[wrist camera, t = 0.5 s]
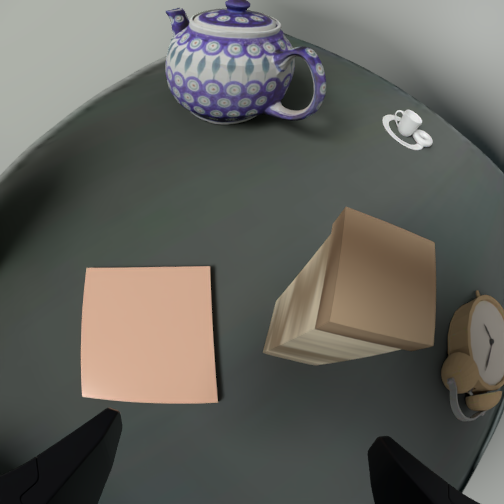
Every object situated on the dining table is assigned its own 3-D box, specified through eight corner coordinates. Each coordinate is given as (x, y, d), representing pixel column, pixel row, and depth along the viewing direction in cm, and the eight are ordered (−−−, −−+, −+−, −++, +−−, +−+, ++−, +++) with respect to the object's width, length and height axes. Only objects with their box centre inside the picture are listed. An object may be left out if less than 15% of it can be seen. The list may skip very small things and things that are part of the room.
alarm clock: (517, 326, 23) (502, 432, 15) (491, 340, 27) (468, 439, 19) (477, 274, 25) (456, 388, 17) (449, 293, 29) (418, 398, 21)
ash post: (315, 367, 22) (433, 345, 9) (260, 353, 22) (329, 321, 9) (327, 313, 24) (434, 242, 11) (274, 298, 24) (345, 206, 11)
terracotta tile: (217, 401, 20) (217, 402, 19) (85, 396, 18) (82, 396, 17) (210, 268, 24) (210, 266, 24) (89, 270, 22) (86, 268, 22)
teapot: (333, 131, 34) (376, 36, 21) (252, 186, 28) (284, 51, 15) (210, 55, 39) (218, -21, 26) (130, 87, 33) (119, -2, 20)
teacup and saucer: (431, 145, 38) (443, 130, 35) (417, 162, 35) (431, 145, 32) (392, 112, 40) (402, 95, 37) (373, 124, 37) (384, 105, 34)
